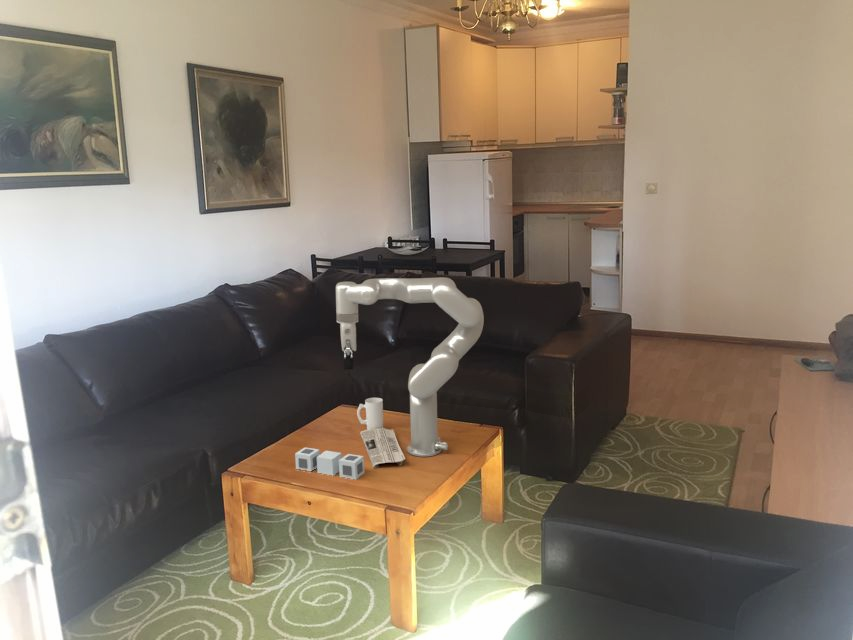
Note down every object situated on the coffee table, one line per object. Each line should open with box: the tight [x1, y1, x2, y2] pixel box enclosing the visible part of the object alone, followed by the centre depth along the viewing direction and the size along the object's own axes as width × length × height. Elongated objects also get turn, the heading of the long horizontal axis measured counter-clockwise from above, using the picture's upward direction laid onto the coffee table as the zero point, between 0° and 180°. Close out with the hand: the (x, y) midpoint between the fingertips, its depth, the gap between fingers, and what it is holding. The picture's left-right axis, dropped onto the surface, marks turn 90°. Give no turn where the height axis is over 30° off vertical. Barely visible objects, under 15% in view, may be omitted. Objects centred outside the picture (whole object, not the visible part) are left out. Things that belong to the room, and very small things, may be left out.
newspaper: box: [359, 427, 406, 469], centre depth 265 cm, size 35×12×4 cm, turn 13°
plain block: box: [316, 450, 343, 477], centre depth 246 cm, size 6×6×6 cm
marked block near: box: [338, 453, 365, 481], centre depth 243 cm, size 6×6×6 cm
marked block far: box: [294, 446, 321, 471], centre depth 250 cm, size 6×6×6 cm
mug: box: [356, 397, 384, 430], centre depth 284 cm, size 10×7×12 cm, turn 98°
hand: (348, 365), depth 258 cm, fingers open, 9 cm apart
